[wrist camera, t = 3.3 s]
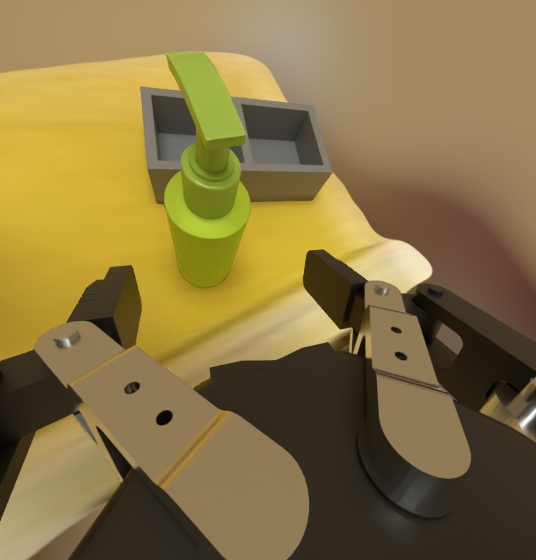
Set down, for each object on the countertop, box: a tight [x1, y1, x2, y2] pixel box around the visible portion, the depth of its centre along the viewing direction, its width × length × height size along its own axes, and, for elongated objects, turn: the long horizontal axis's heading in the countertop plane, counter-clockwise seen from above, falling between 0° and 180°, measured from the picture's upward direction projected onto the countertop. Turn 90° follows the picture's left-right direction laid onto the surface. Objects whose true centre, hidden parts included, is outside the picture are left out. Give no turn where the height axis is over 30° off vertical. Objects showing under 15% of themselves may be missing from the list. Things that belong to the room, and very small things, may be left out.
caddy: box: [140, 87, 333, 203], centre depth 31 cm, size 21×10×6 cm, turn 102°
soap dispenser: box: [164, 53, 251, 288], centre depth 20 cm, size 6×7×20 cm
